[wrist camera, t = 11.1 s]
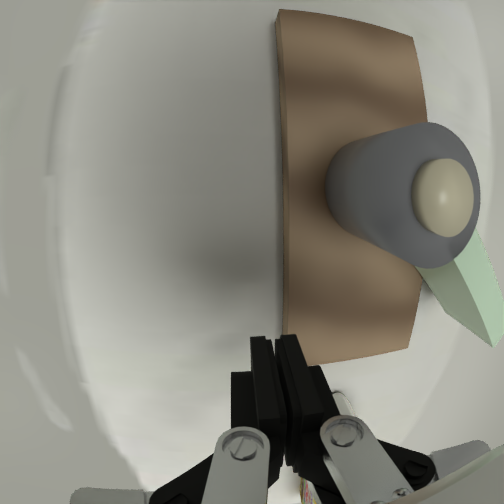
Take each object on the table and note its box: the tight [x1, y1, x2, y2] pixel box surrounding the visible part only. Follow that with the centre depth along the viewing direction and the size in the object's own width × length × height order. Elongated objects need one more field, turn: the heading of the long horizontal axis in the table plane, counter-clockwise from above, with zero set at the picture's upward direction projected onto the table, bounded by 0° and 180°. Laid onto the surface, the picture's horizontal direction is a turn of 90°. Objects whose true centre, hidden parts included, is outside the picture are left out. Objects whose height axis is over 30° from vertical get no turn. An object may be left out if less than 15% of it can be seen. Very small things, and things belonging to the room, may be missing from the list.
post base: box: [275, 9, 428, 366], centre depth 16 cm, size 24×10×2 cm, turn 2°
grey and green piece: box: [325, 122, 504, 348], centre depth 13 cm, size 15×6×7 cm, turn 48°
